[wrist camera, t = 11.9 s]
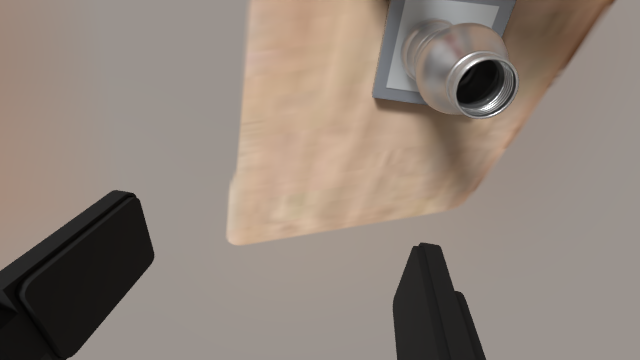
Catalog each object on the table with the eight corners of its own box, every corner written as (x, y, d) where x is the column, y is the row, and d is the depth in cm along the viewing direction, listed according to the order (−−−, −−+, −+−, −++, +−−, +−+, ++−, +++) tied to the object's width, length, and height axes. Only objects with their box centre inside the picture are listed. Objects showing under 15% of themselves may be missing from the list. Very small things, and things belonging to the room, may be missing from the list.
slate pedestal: (394, -21, 33) (396, -23, 31) (509, -8, 33) (520, -9, 30) (371, 92, 40) (372, 97, 38) (467, 105, 39) (473, 111, 37)
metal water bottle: (411, 88, 37) (450, 158, 20) (388, 37, 34) (411, 66, 17) (464, 61, 34) (559, 113, 17) (443, 4, 32) (532, -1, 15)
